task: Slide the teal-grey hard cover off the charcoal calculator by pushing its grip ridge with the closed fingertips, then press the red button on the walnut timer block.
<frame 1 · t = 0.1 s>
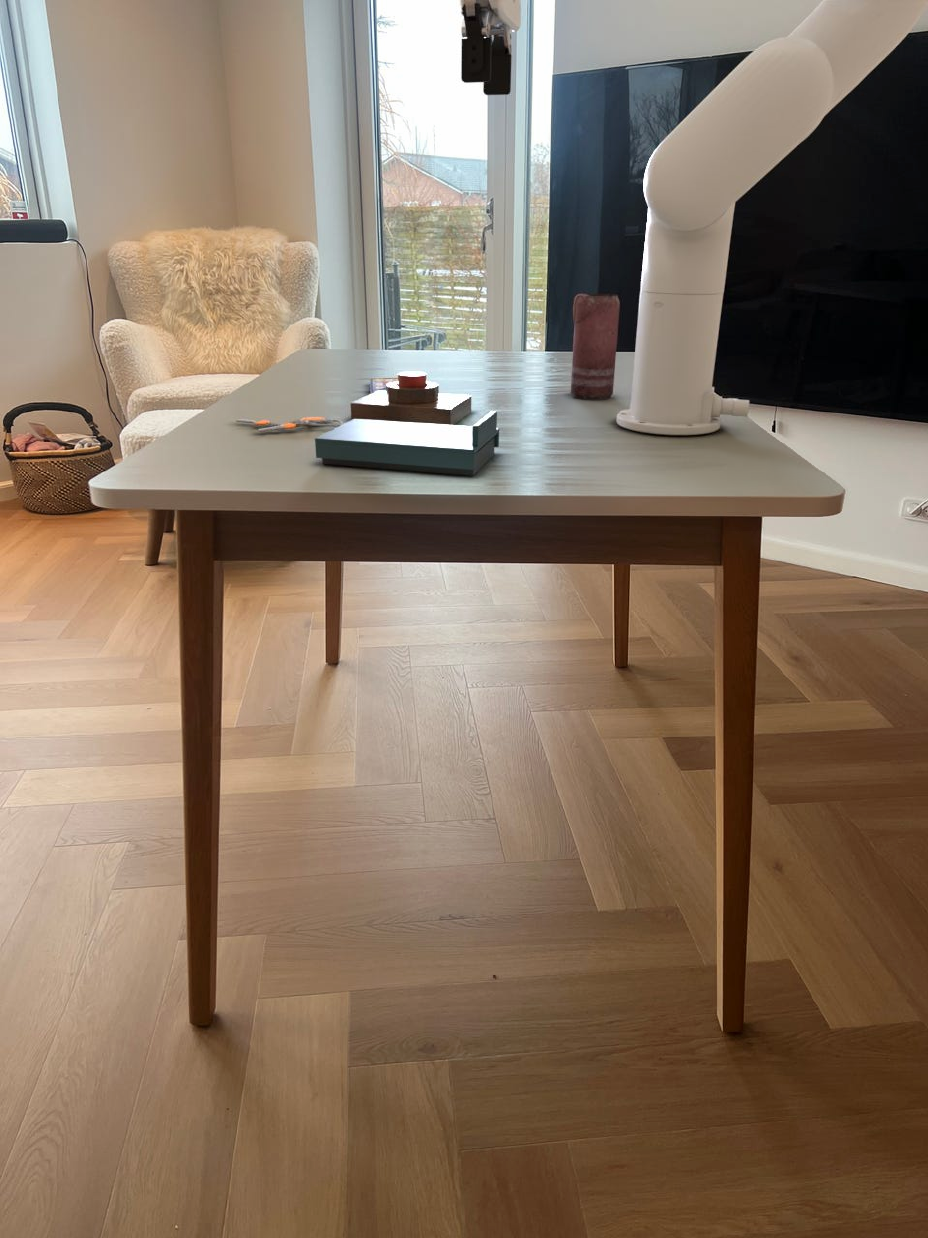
hand: (486, 88, 99), 37 cm above the table, tool pointing down, fingers open, 9 cm apart
timer block: (412, 416, 112), on the table
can: (590, 397, 127), on the table
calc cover: (409, 432, 90), point 3 cm above the table, slide at 0.0 cm
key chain: (290, 427, 105), on the table
timer button: (412, 380, 110), point 4 cm above the table, slide at 0.1 cm
calculator: (410, 459, 91), on the table
smartphone: (395, 393, 128), on the table
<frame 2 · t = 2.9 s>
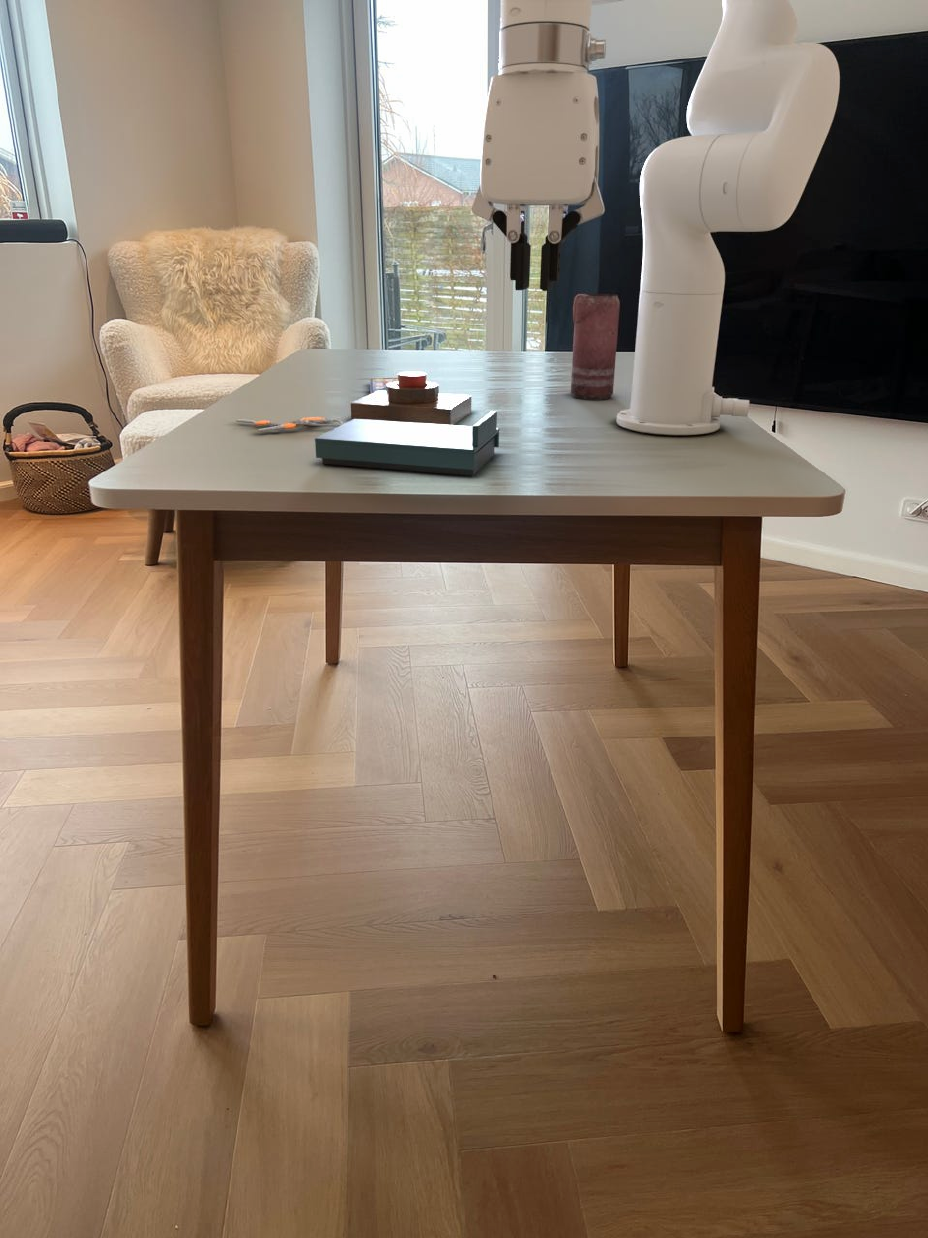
hand: (534, 288, 81), 17 cm above the table, tool pointing down, fingers closed
nothing on the table moved.
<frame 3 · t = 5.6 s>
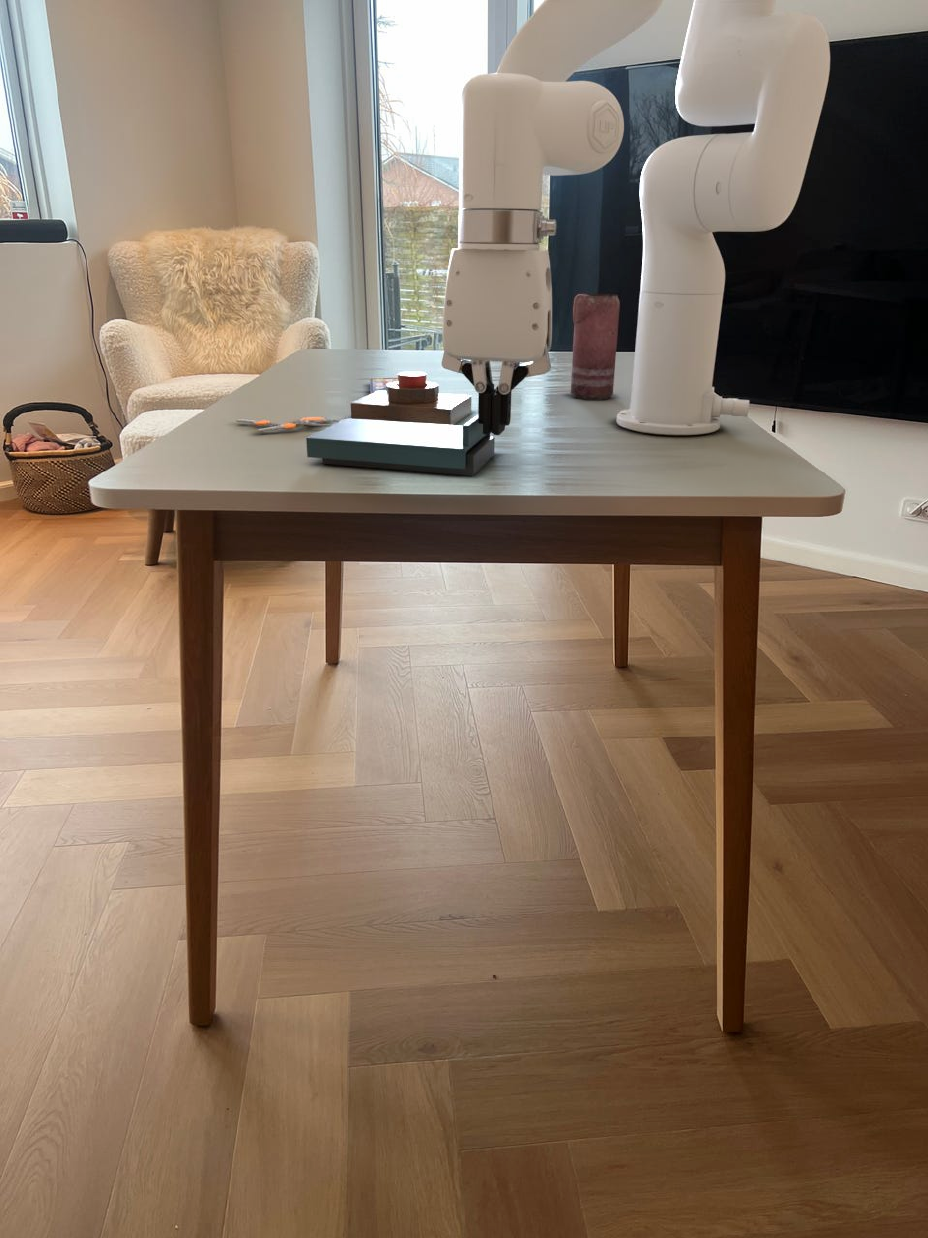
hand: (494, 431, 88), 4 cm above the table, tool pointing down, fingers closed
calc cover: (401, 432, 90), point 3 cm above the table, slide at 1.0 cm, touching gripper
everything else where it was.
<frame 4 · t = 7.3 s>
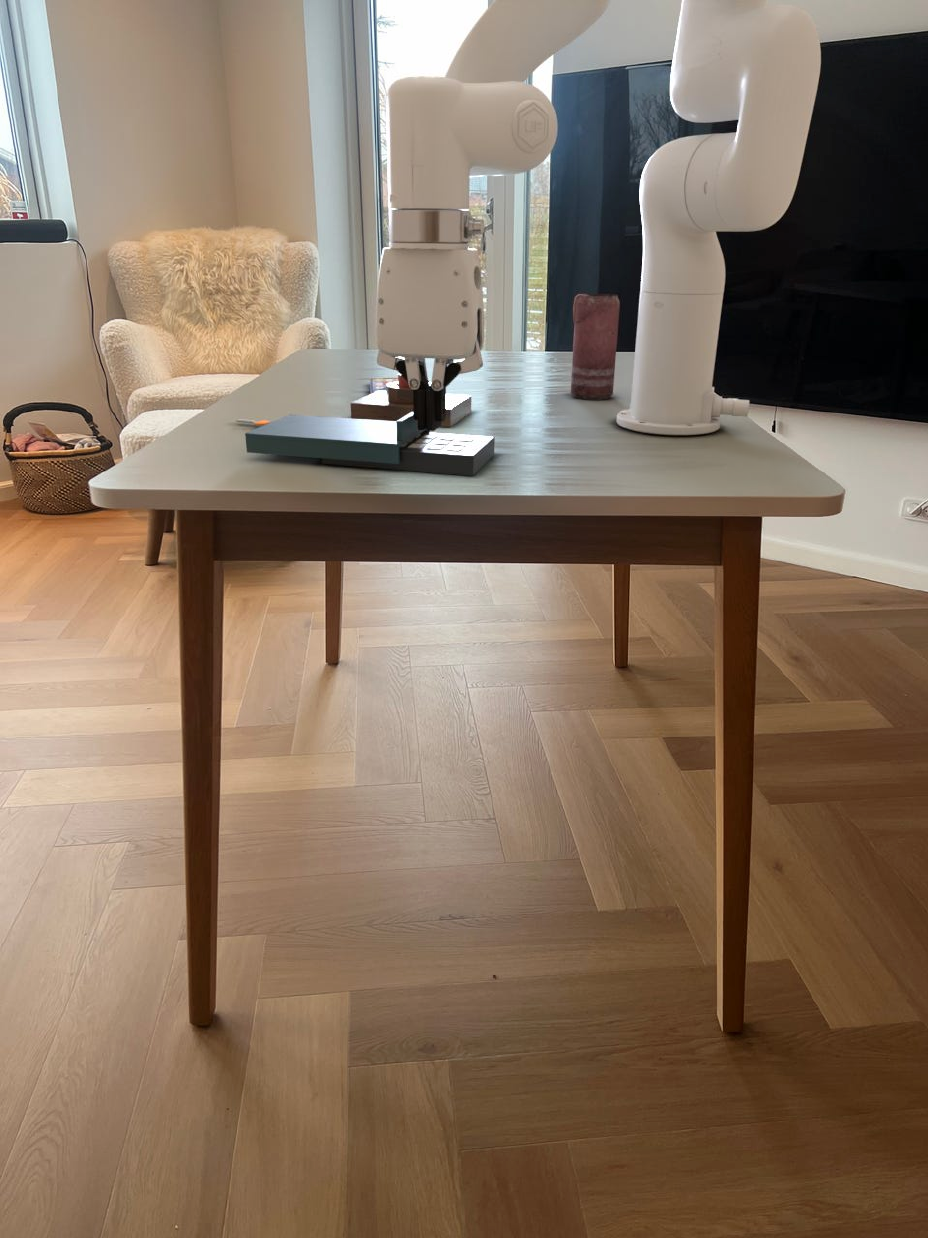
hand: (429, 427, 89), 4 cm above the table, tool pointing down, fingers closed
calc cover: (340, 428, 92), point 3 cm above the table, slide at 7.8 cm, touching gripper
everything else where it was.
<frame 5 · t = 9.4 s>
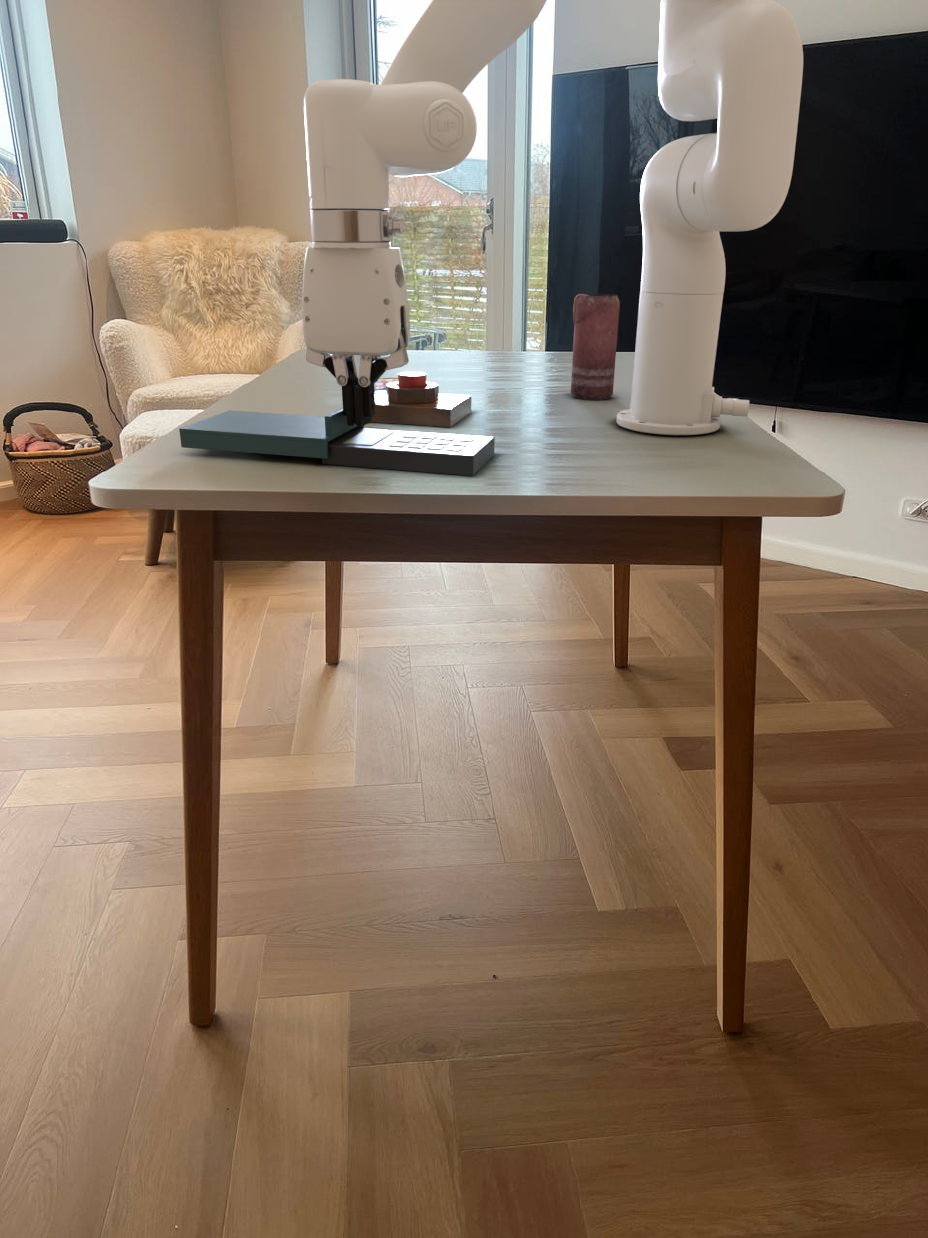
hand: (359, 423, 91), 3 cm above the table, tool pointing down, fingers closed
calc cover: (274, 423, 94), point 3 cm above the table, slide at 15.4 cm, touching gripper
everything else where it was.
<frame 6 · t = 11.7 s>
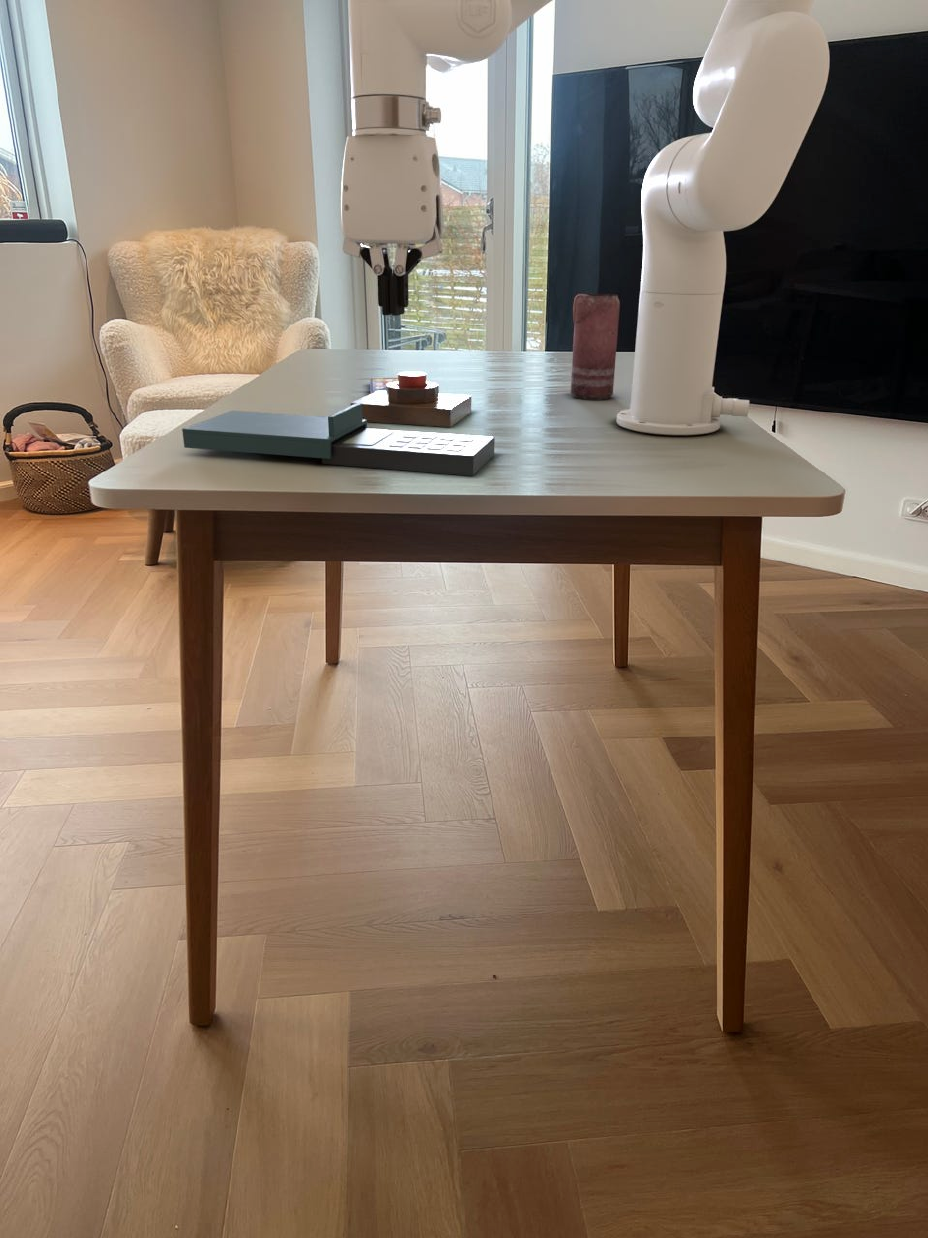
hand: (393, 313, 95), 14 cm above the table, tool pointing down, fingers closed
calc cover: (277, 423, 94), point 3 cm above the table, slide at 15.0 cm
everything else where it was.
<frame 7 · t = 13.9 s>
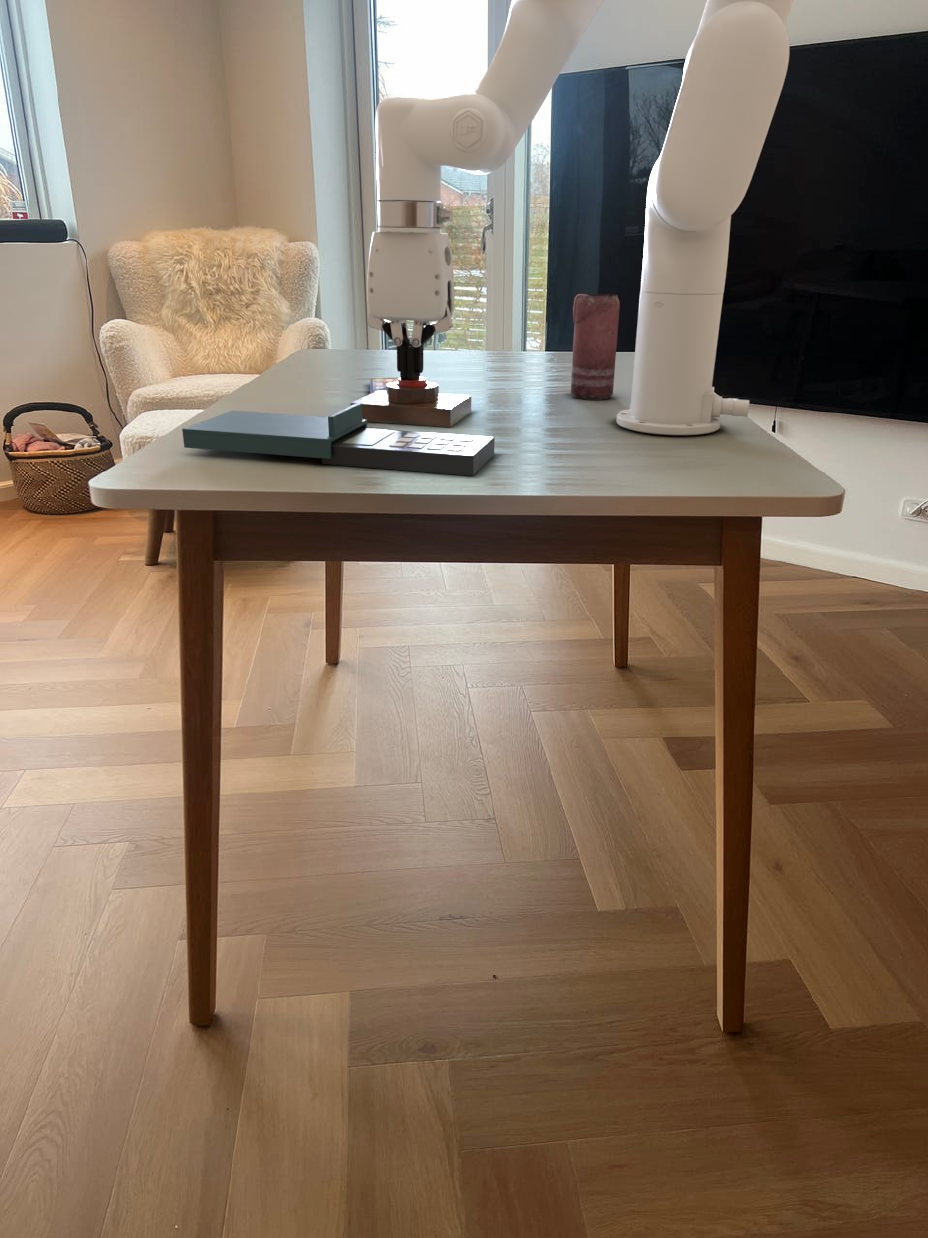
hand: (410, 378, 110), 5 cm above the table, tool pointing down, fingers closed
timer button: (412, 385, 111), point 4 cm above the table, slide at -0.5 cm, touching gripper
everything else where it was.
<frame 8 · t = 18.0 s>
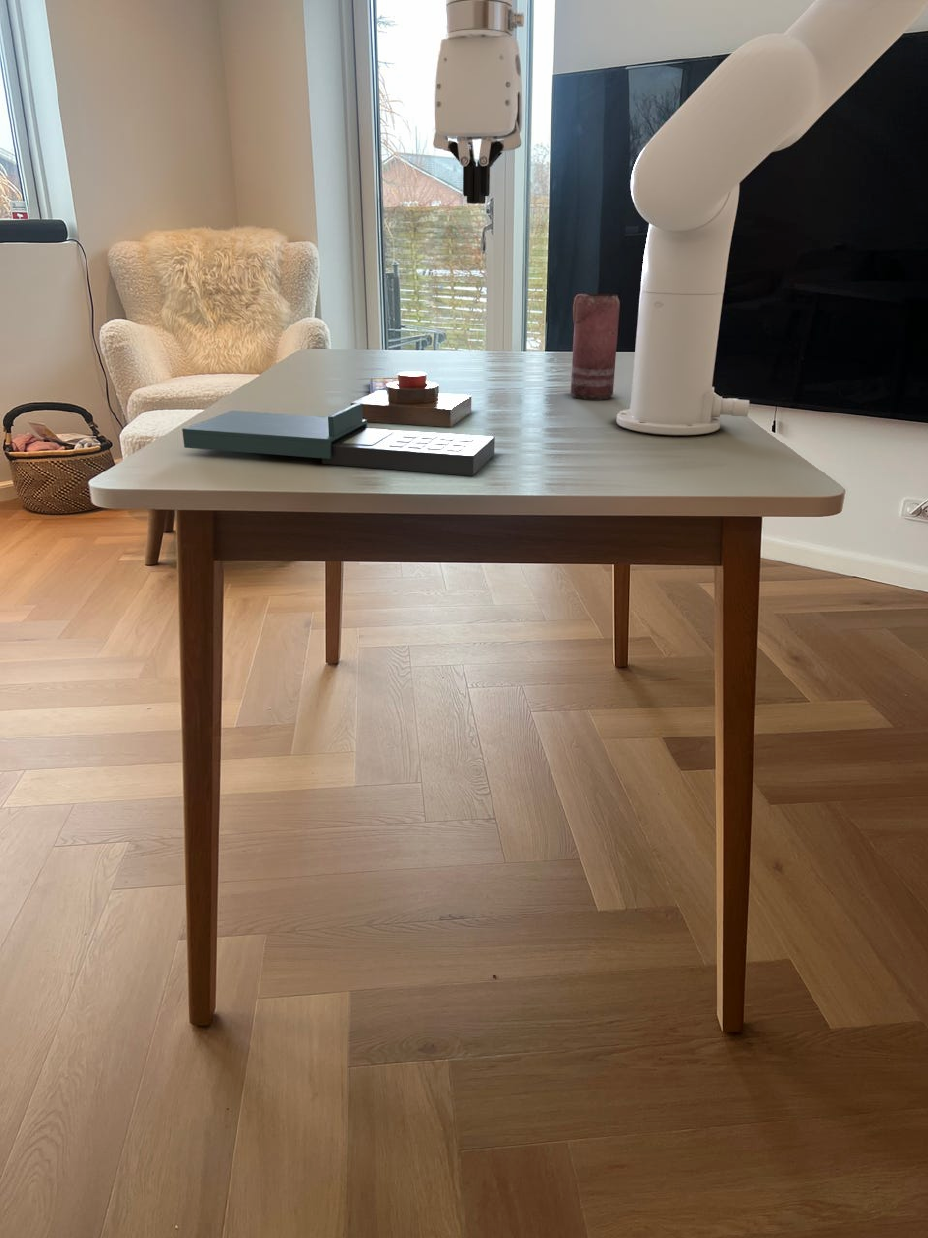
hand: (476, 202, 108), 25 cm above the table, tool pointing down, fingers closed
timer button: (412, 380, 110), point 4 cm above the table, slide at 0.1 cm
everything else where it was.
at the end: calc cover slide at 15.0 cm; timer button pushed in 1.1 cm at the most during the clip, back to where it started at the end; timer button slide at 0.1 cm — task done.
